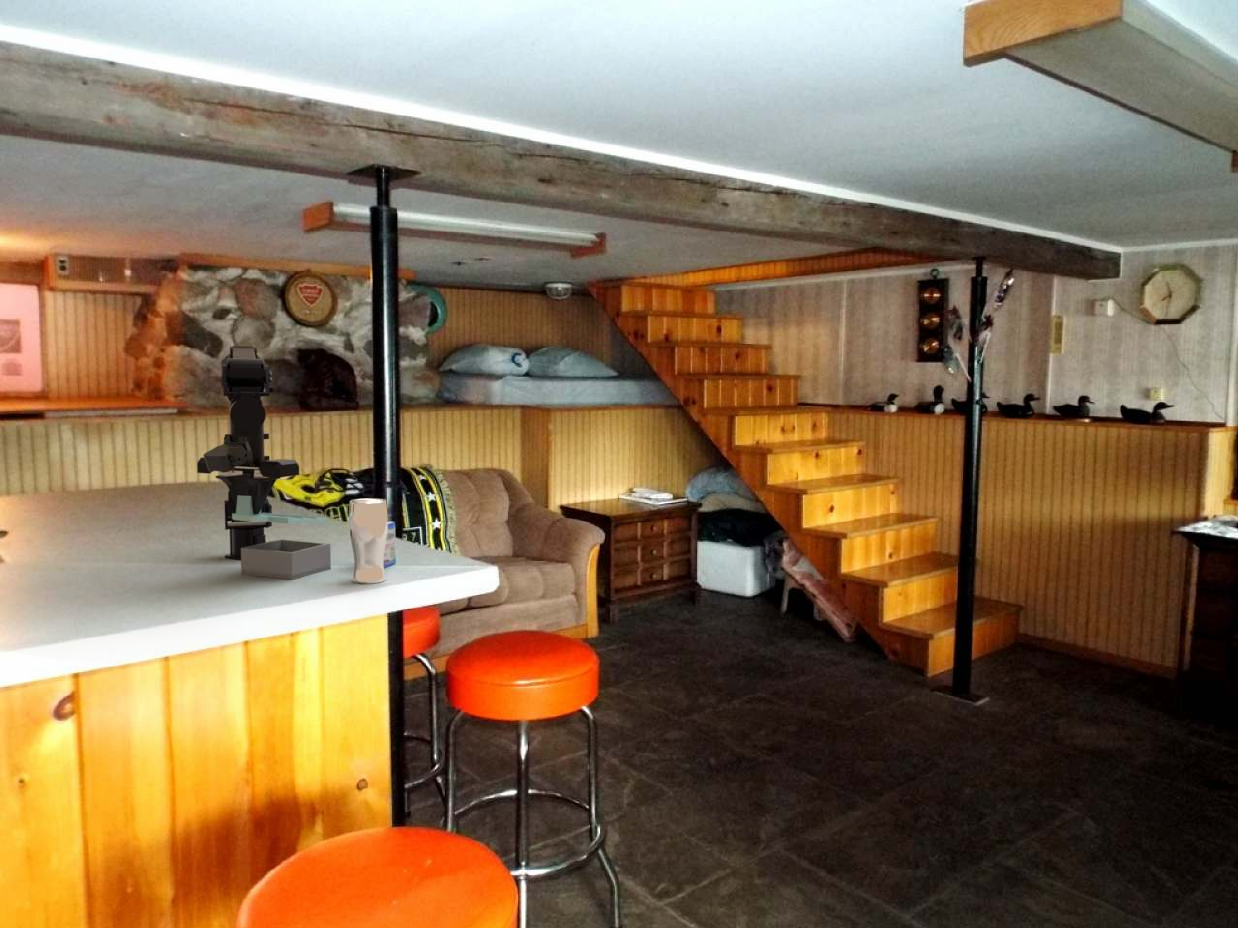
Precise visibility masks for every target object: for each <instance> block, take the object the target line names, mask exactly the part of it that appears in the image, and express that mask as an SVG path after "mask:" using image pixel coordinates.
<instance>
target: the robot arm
mask: <svg viewBox="0 0 1238 928" xmlns="http://www.w3.org/2000/svg"><path fill="white" fill-rule="evenodd" d="M220 372H221V375H220V376H221V377H220V378H221V379H220V381H221V382H220V383H221V388H222V389H223V391H222V393H223V397H226V400H228V402H229V405H228V408H229V433H226V434H224V436H223V443H222V444H220V445H217V446H216V447H213V448H212V449H210V450H207V451H206V452H205V453H204V454H203V456H202V457H200V458H199V460H198V461H197V463H196V466H197V470H196V471H197V474H208V475H209V474H212V472H218V474H217V475H215V476H214V477H215V478H216V479H218V480H219V481H221V482H223V483H224V484H225V485H226V486H227V488H228V492H227V499H224V502H223V503H224V527H225V528H224V530H225V531H228V530H229V551H230V552H229V553H227V554H225V555H224V558H229V559H234V560H235V559H238V560H241V548H244V547H248V546H252V545H257V544H261V543H266V542H267V541H266V539H267V538H266V534H265V529H268V528H269V527H272V526H273V525H272V523H273V522H254V521H239V520H233V519H232V513H234V514H236V508H237V496H238V495H239V496H252V508H253V514H255V515H256V514H259V513H260V511H261V513H272V514H273V510H272V507H273V506H272V504H271V503H270V501H269V498H267V497H268V496H269V493H270V492H271V489H272V488H273V486H274V485H275V483H276V482H277V480H281V478H286V477H293V476H299V475H300V465H299V463H298V462H297V461H296V459H287V458H285V459H284V458H283V459H282V458H279V459H278V458H277V459H270V455H265V440H269V439H270V434H269V433H267V432H266V433H265V426H264V425H265V422H266V421H265V420H266V415H267V413H266V410H265V407H264V403H263V401H262V400H261V399H262V398H263V397H266V398H267V397H271V395H270V394H272V393H274V386H273V384H274V383H273V372H272V371H271V370H270V366H269V365H268V364H266V362H265V360H264V359H263V358H261V357H260V355H258V351H257V347H255V346H254V345H233V346H229V354H228V355H226V356H225V357H224V358H223V359H222V360H221V361H220Z"/></svg>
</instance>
